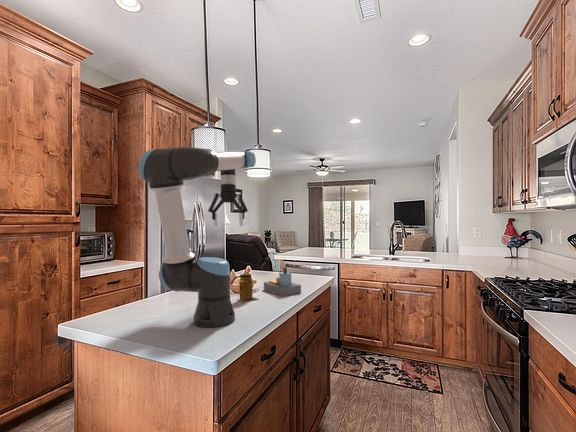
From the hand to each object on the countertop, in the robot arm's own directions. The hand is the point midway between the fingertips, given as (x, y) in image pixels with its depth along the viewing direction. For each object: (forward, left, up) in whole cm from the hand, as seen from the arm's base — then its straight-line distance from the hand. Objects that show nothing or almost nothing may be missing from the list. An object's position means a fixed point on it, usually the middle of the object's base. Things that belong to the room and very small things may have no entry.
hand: (228, 226), depth 158 cm
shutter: (-5, -26, -30) cm, 40 cm away
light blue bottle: (-12, -26, -34) cm, 44 cm away
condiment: (-13, -4, -35) cm, 38 cm away
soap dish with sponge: (-8, -26, -35) cm, 44 cm away
